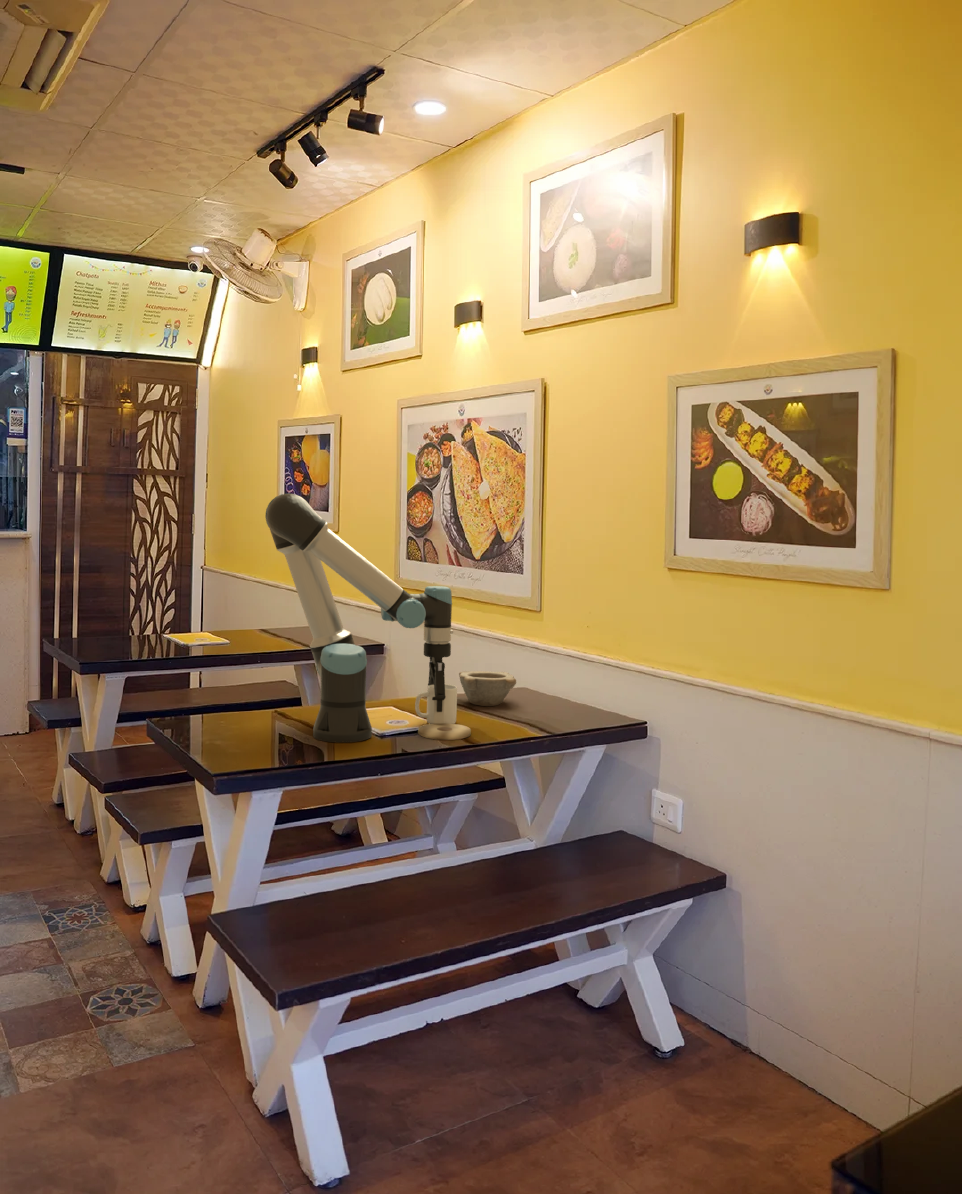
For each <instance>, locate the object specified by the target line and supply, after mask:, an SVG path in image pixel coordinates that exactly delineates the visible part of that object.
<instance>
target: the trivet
mask: <svg viewBox="0 0 962 1194" xmlns="http://www.w3.org/2000/svg"><path fill="white" fill-rule="evenodd" d="M417 730H418V731H417V733H418V735H419V736H420V737H424V738H425V739H431V740H439V741H440V740H441V741H445V740H446V741H448V740H449V741H452V740H454V741H455V740H461V739H462V740H463V739H466V738H469V737H470V736H471V731H472V729H471V728H470V727H468V726H466V725H464V724H459V723H458V724H456V723H455V724H449V723H440V724H429V723H428V724H423V725H421V726H419V727H418V728H417Z"/></svg>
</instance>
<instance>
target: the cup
mask: <svg viewBox="0 0 962 1194" xmlns="http://www.w3.org/2000/svg"><path fill="white" fill-rule="evenodd" d="M426 690H427V691H421V692H419V693H418V694H417V696H416V698H415V703H414V710H415V713H416V715H417V716H419V717H420V718H422V719H426V722H427V723H428V724H434V700H432V698H433V697H435V692H434V685H429V686H428V685H427V689H426ZM445 696H446V697H445V699H444V723H449V724H456V722H457V706H458V704H457V703H458V687H457V686H456V685H455V684H454V685H453V684H445ZM423 697H426V712H421V710H420V700H421V699H422V698H423Z"/></svg>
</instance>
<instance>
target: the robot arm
mask: <svg viewBox="0 0 962 1194" xmlns="http://www.w3.org/2000/svg"><path fill="white" fill-rule="evenodd" d="M265 521H266V522H265V523H266V524H267V527H268V528H269V530H270V533H271V536H272V537H271V538H272V540H273V543H274V546H275V548H276V551H277V552H279V553H281V554H283V555H284V557H285V560H286V563H287V566H288V568H289V571H290V575H291V577H292V581H293V583H294V586H295V589H296V592H297V595H298V598H299V601H300V603H301V607H302V609H303V613H304V615H305V618H306V621H307V624H308V628H309V631H310V633H311V636H312V640H311V641H310V644H309V648H310V652H311V653H312V658H313V660H314V663H315V668H316V671H317V673H318V675H319V677H320V705H319V706H320V707H319V710H318V713H317V716H316V719H315V721H314V724H313V730H312V731H313V733H312V737H313V738H314V739H316V740H318V741H322V742H328V743H354V742H362V741H366V740H368V739H370V738H372V736H373V731H372V730H373V728H372V724H371V720H370V718H369V715H368V712H367V711H368V710H367V708H366V704H367V703H366V698H367V697H366V695H367V693H366V692H367V687H366V686H367V684H366V683H367V663H368V658H367V652H366V650H365V649H364V647H362V646H360V645H356V643H355V641H354V638H353V635H352V632H351V631H350V630H347V629H346V628H344V625H343V623H342V620H341V617H340V614H339V610H338V608H337V607H338V606H337V605H336V602H335V599H334V596H333V593H332V590H331V587H330V584H329V580H328V578H327V576H326V572H325V570H324V565H323V564H322V563H324V564H325V565H326V566H327V567H329V568H330V569H331V570H332V571H334V572H335V573H336V574H337V575H339V576H340V577H341V578H343V579H344V580H345V581H346V582H348V584H350V585H351V586H353V588H355V589H357V590H358V592H360V593H362V594H363V595H364V596H365V597H366V598H368V599H369V600H370V601H371V602H373V603H374V604H375V605H377V606H378V607H379V608H380V615H381V616H380V617H381V619H382V620H383V621H385V622H386V621H387V622H388V621H389V622H397V623H398V624H400V625H401V627H403V628H406V629H416V628H418V627H420V626H421V625H422V624H423V641H424V643H423V655H424V657H427V658H429V662H428V664H429V666H428V668H429V669H428V672H429V673H428V683H427V687H428V686H429V685H434V692H435V697H433V698H432V700H434V724H440V723H444V699H445V697H446V696H445V683H446V682H445V677H446V675H445V668H446V667H445V666H446V663H445V662H443V658H448V657H450V656H451V654H452V653H451V651H452V644H451V643H450V642H451V640H452V636H451V634H453V633H454V630H453V629H452V608H453V599H452V598H453V597H452V590H451V588H450V587H448V586H444V585H443V586H442V585H433V586H432V585H428V586H426V587H425V588H424V592H423V593H409V592H408V591H406V590H404V589H403V588H402V587H401V586H400V585H398V583H396V582H395V581H394V580H393V579H391V578H390V576H388V575H387V574H386V573H384V572H383V571H381V570H380V568H378V567H376V566H375V565H374V564H373V563H372V562H371V561H369V560H368V559H367V558H366V557H364V556H363V555H362V554H361V553H360V552H358V551H357V550H356V549H355V548H353V547H352V546H350V544H349V543H347V542H346V541H345V540H343V539H342V538H341V537H340V536H339V535H338V534H336V533H335V532H333V531H332V530H331V529H330V528H329V527H328V524H329V523H328V522H327V521H326V520H325V519H324V518H322V517H321V516H320V515H319V514H318V512H316V511H315V509H314V508H312V506H311V505H310V504H309V502H308V501H307V500H306V499H304V498H303V497H302V496H300V495H298V494H294V493H289V492H288V493H283V494H282V493H281V494H280V495H277V496H275V497H274V498H273V499H271V500H270V502H269V503H268V505H267V507H266V509H265Z"/></svg>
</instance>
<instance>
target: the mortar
mask: <svg viewBox="0 0 962 1194" xmlns="http://www.w3.org/2000/svg"><path fill="white" fill-rule="evenodd" d="M458 676H459V680H460V681H459V682H460V683H461V688H462V689H463V692H464V694H465V696H466V698H467V700H468V701H469V702H470V704H472V705H476V706H483V707H493V706H498V705H501V704H502V703H503V701H505V698H506V697H507V696H508V694H509V693H510V691H511V690H512V689H513V688H515V686H516V685H517V679H516V678H515V677H514V675H512V674H510V673H509V672H507V671H506V672H505V671H482V670H481V671H478V670H477V671H475V670H474V671H471V670H465V671H463V670H462V671H460V672H459V673H458Z"/></svg>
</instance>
